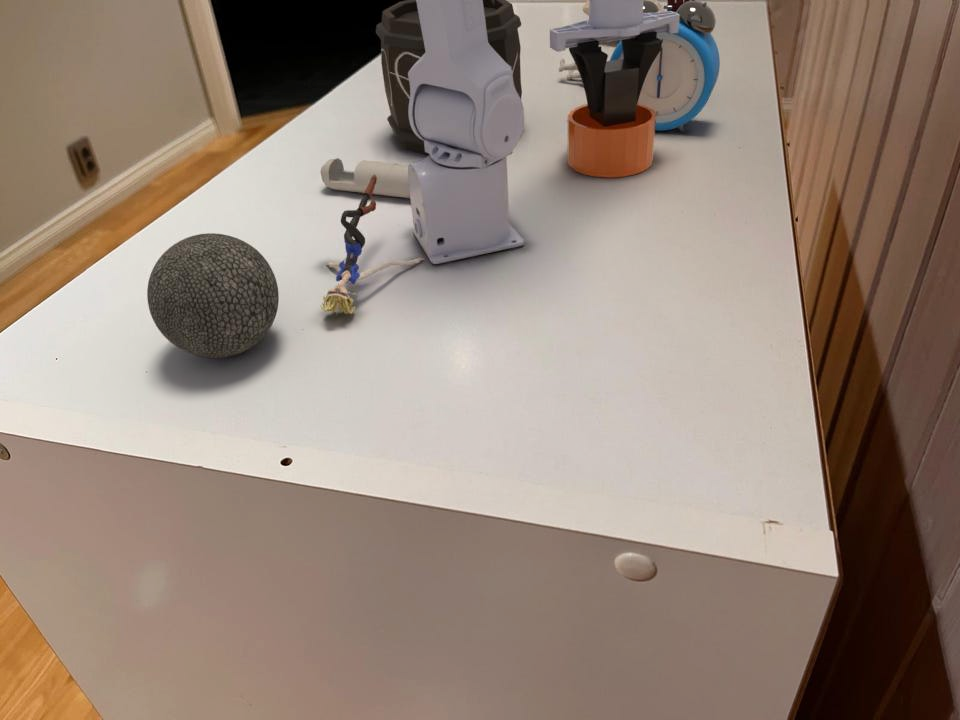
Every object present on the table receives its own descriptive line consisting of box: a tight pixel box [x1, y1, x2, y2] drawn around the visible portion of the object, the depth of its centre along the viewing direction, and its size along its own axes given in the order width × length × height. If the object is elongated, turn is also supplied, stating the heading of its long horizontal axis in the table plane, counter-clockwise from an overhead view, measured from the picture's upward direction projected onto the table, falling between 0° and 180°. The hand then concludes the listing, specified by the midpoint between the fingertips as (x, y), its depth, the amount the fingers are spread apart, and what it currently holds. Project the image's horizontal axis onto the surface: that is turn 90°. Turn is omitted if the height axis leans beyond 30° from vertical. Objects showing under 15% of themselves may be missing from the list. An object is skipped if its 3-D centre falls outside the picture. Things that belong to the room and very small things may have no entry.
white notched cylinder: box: [320, 157, 410, 199], centre depth 86 cm, size 18×5×7 cm, turn 69°
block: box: [589, 59, 639, 127], centre depth 88 cm, size 4×4×6 cm
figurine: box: [301, 174, 425, 331], centre depth 72 cm, size 10×9×20 cm
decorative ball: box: [146, 232, 280, 359], centre depth 62 cm, size 10×10×10 cm
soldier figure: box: [558, 58, 581, 80], centre depth 115 cm, size 8×5×12 cm
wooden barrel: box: [375, 0, 523, 156], centre depth 98 cm, size 18×18×16 cm
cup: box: [566, 103, 656, 178], centre depth 91 cm, size 10×10×6 cm
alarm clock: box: [609, 0, 721, 133], centre depth 97 cm, size 13×6×15 cm, turn 69°
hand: (612, 106), depth 89 cm, fingers closed on block, 4 cm apart
